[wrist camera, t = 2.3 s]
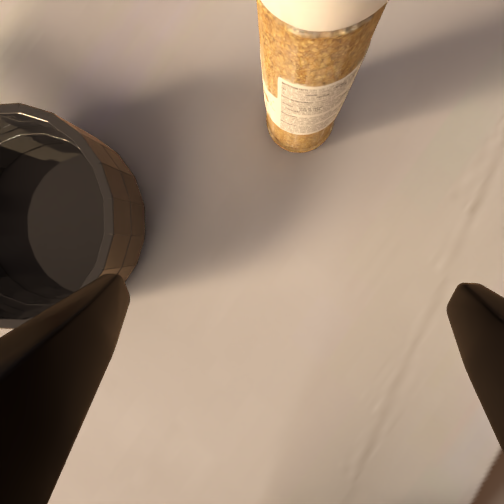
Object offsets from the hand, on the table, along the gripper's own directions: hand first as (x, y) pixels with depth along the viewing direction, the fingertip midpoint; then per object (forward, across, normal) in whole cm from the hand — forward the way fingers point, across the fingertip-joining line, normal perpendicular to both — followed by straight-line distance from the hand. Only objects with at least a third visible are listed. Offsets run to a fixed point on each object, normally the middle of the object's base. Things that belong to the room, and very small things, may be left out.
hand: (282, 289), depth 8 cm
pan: (+12, +16, +5) cm, 20 cm away
